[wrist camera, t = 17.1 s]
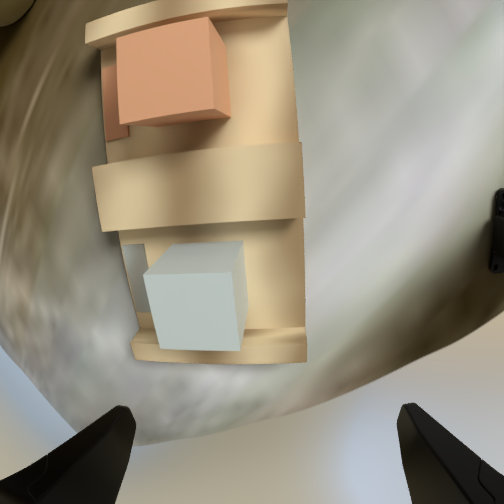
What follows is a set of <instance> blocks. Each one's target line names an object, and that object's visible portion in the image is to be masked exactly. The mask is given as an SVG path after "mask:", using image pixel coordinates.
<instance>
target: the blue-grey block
mask: <svg viewBox="0 0 504 504" xmlns="http://www.w3.org/2000/svg"><path fill="white" fill-rule="evenodd" d="M143 277H144V282H145V287H146V291H147V296H148V300H149V305H150V309H151V313H152V318H153V322H154V326H155V330H156V334H157V338H158V342H159V345H160V349H175V350H205V351H240V350H241V345H242V339H243V334H244V329H245V323H246V318H247V313H248V307H249V302H248V291H247V280H246V268H245V257H244V245H243V240H240V241H219V242H200V243H181V244H172V245H171V246H170V247H169V248H168V249H167V250H166V251H165V252H164V253H163V255H162V256H161V257H160V258H159V259H158V260H157V261H156V262H155V263H154V264H153V265H152V266H151V267H150V268H149V269H148V270H147V271H146V272H145V273H144V274H143Z"/></svg>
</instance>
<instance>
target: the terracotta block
mask: <svg viewBox="0 0 504 504" xmlns="http://www.w3.org/2000/svg"><path fill="white" fill-rule="evenodd" d="M116 50H117V87H118V106H119V120H120V125H137V126H150V127H161V126H167V125H174V124H181V123H187V122H195V121H203V120H211V119H220V118H229V117H231V107H230V95H229V82H228V68H227V55H226V46H225V44H224V42H223V41H222V39H221V37H220V36H219V34H218V32H217V31H216V29H215V27H214V26H213V24H212V22H211V21H210V19H209V17H203V18H197V19H192V20H187V21H181V22H177V23H172V24H167V25H163V26H159V27H155V28H151V29H147V30H143V31H139V32H135V33H132V34H128V35H125V36H122V37H118V38H116Z"/></svg>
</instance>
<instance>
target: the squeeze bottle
mask: <svg viewBox="0 0 504 504" xmlns="http://www.w3.org/2000/svg"><path fill="white" fill-rule="evenodd" d="M33 2H34V0H0V27H2V26H7V25H9V24H12V23H14V22H16V21H17V20H18V19H19V18H21V17H22V16H23V15H24V14H25V13H26V11H27V10H28V9H29V8H30V7H31V5H32V4H33Z"/></svg>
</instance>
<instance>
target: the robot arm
mask: <svg viewBox="0 0 504 504" xmlns="http://www.w3.org/2000/svg"><path fill="white" fill-rule="evenodd" d="M503 193H504V188H500V189H499V190H498V192H497V201H496V214H495V224H494V233H493V241H492V248H491V255H490V261H489V270H490V271H491V272H492V273H502V272H504V196H503V198H502V194H503ZM494 265H495V267H494ZM397 430H398V436H399V443H400V450H401V457H402V464H403V469H404V472H405V476H406V480H407V484H408V488H409V492H410V496H411V500H412V504H504V476H503V475H502V474H500V473H499V472H497V471H496V470H495V469H494V468H492V467H491V466H490V465H489V464H487V463H486V462H485V461H484V460H481V458H480V457H479V456H478V455H476V454H475V453H474V452H473V451H472V450H470V449H469V448H468V447H467V446H466V445H464V444H463V443H462V442H461V441H459V440H458V439H457V438H456V437H455V436H453V434H451V433H450V432H449V431H448V430H447V429H445V428H444V427H443V426H442V425H441V424H439V423H438V422H437V421H436V420H435V419H433V418H432V417H431V416H430V415H429V414H428V413H426V412H425V411H424V410H423V409H422V408H421V407H419V406H418V405H417V404H416V403H408V404H403V405H402V407H401V410H400V413H399V416H398V419H397ZM135 431H136V422H135V419H134V417H133V415H132V413H131V410H130V409H129V408H128V407H127V406H120V405H118V406H116V407H114V408H113V409H111V410H110V411H109V412H107V413H106V414H104V415H103V416H102V417H100V418H99V419H97V420H96V421H95V422H93V423H92V424H90V425H89V426H87V427H86V428H85V429H83V430H82V431H80V432H79V433H77V434H76V435H75V436H73V437H72V438H70V439H69V440H67V441H66V442H64V443H63V444H62V445H60V446H59V447H57V448H56V449H54V450H53V451H52V452H50V453H48V455H45V456H44V457H42V458H41V459H39V460H38V461H36V462H35V463H33V464H31V465H30V466H28V467H26V468H24V469H22V470H21V471H19V472H17V473H15V474H13V475H11V476H9V477H7V478H5V479H2V480H0V504H115V501H116V498H117V495H118V492H119V489H120V486H121V483H122V480H123V477H124V474H125V472H126V469H127V465H128V462H129V458H130V453H131V449H132V444H133V440H134V435H135Z"/></svg>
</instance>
